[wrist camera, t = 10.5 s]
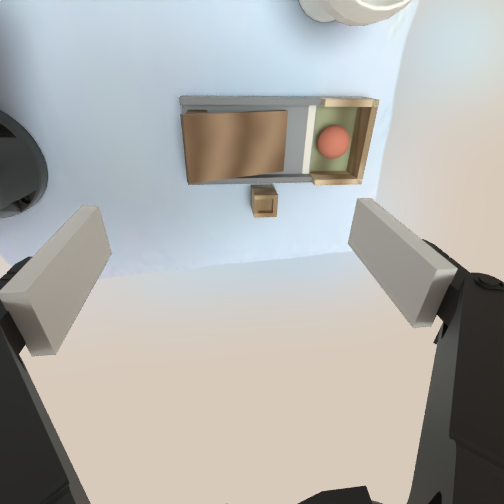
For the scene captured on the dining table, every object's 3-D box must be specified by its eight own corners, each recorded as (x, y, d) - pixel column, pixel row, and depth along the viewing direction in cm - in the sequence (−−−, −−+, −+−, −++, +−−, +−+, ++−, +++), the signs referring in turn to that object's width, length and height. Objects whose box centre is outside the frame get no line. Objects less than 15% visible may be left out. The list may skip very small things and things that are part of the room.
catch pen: (306, 175, 47) (314, 185, 43) (315, 96, 41) (325, 99, 37) (349, 175, 47) (361, 184, 43) (364, 97, 41) (379, 99, 38)
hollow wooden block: (250, 205, 48) (254, 217, 44) (251, 185, 46) (254, 195, 42) (271, 204, 48) (276, 216, 45) (272, 184, 47) (278, 195, 43)
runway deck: (189, 178, 45) (188, 184, 42) (181, 95, 39) (179, 97, 36) (306, 175, 47) (312, 182, 44) (315, 96, 41) (322, 98, 38)
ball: (328, 163, 40) (353, 160, 42) (333, 128, 38) (359, 127, 40) (310, 156, 44) (334, 153, 45) (313, 123, 42) (339, 122, 43)
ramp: (189, 171, 43) (186, 184, 38) (184, 109, 39) (179, 115, 34) (282, 169, 44) (290, 181, 39) (286, 109, 40) (296, 115, 35)
